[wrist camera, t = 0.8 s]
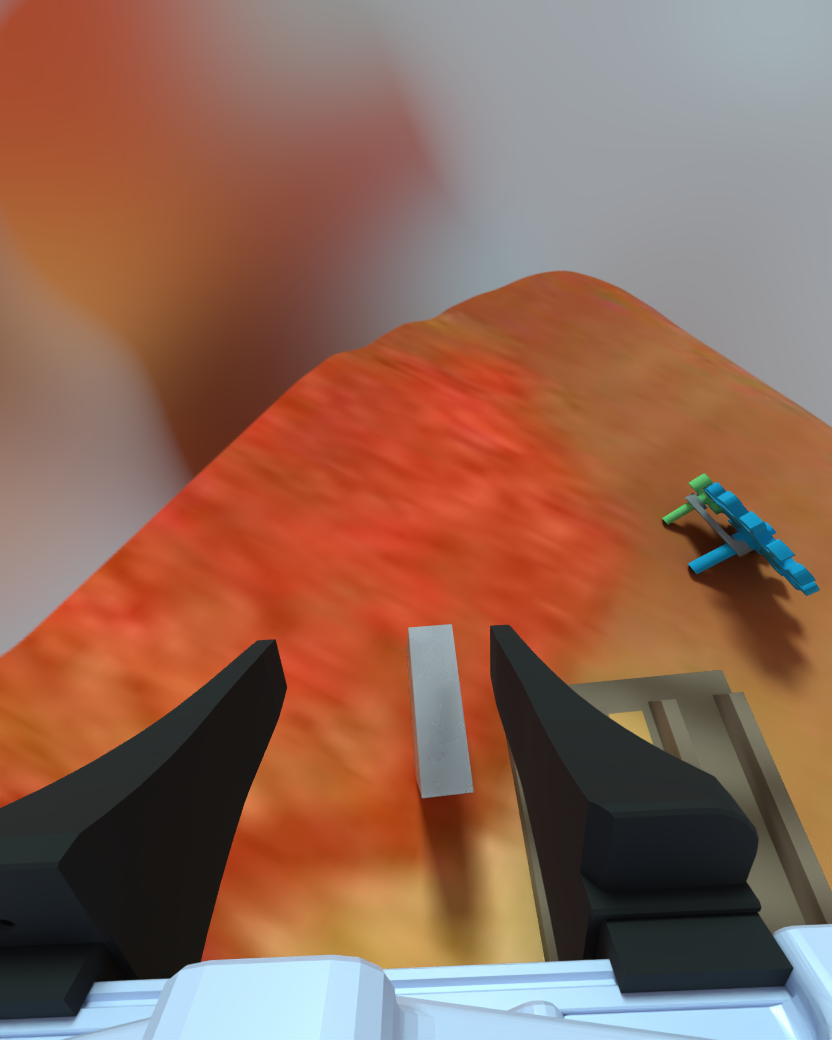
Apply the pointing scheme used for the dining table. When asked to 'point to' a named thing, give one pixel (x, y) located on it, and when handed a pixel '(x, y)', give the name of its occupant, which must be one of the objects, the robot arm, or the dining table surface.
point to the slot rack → (737, 766)
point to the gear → (741, 534)
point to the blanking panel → (437, 713)
